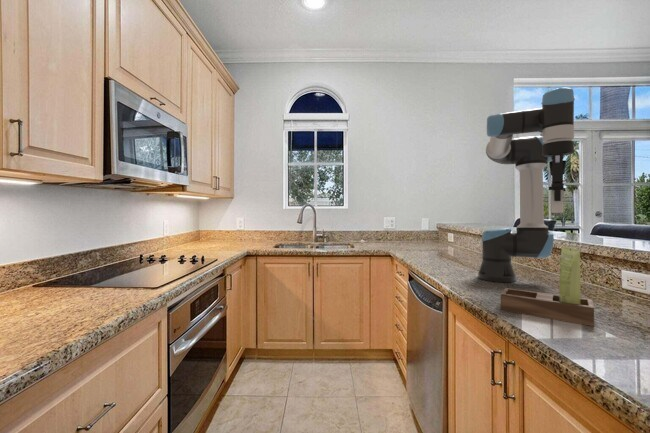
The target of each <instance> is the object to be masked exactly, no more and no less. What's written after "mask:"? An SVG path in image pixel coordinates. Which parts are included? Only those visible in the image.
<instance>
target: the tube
mask: <svg viewBox="0 0 650 433" xmlns="http://www.w3.org/2000/svg"><path fill="white" fill-rule="evenodd" d="M559 269H560V270H559V288H558V289H559V290H558V291H559V292H558V295H559V302H566V303H573V304H580V298H581V250H580V249H579V248H572V247H567V246H564V245H561V252H560V267H559Z"/></svg>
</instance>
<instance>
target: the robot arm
mask: <svg viewBox="0 0 650 433" xmlns="http://www.w3.org/2000/svg"><path fill="white" fill-rule="evenodd" d="M541 98H542V100H541V101H542V102H541V108H533V109H526V110H518V111H509V112H504V113H501V112H500V113H496V114H493V115H491V114H490V115H488V116H487V118H486V135H487V137H490V138H489V139H490V140H489V142H488V143H487V144H486V147H485V154H486V156H487V157H488V158H489V160H491V161H492V162H494V163H497V164H500V165H515V167H514V168H515V169H516V170H517V171H518V173H519V214H520V215H519V216H520V217H519V218H520V223H519V224H518V225H517V226H516V227H515V228H516V229H515V230H512V228H511V227H502V228H500V227H499V228H492V229H486V230H483V231H482V233H481V234H482V235H481V236H482V237H481V243H482V244H481V246H482V249H481V250H482V251H481V256H482V257H481V263H480V266H479V270H478V271H477V272H478V273H477V277H478V278H479V279H481V280H483V281H488V282H496V283H497V282H498V283H512V282H514V283H515V282H516V281H517V276H516V273H515V269H514V266H513V264H512V258H530V259H531V258H532V259H547V258H548V257H550V255H551V254H552V251H553V249H554V248H553V247H554V243H555V242H554V240H555V237H554V233H553V231H551V230H549V226H548V225H546V224H545V221H544V220H545V218H544V216H545V215H544V214H545V213H544V211H545V210H544V209H545V208H544V173H543V170H544V169H545V168H546V167H547V166H548V165H549V167H548V168H549V169H550V170H549V172H550V175H551V184H550V186H548V191H551V202H550V203H551V204H550V206H551V209H550V210H551V214H564V192H566V188H564V187H565V186H564V185H565V184H564V175H565V172H566V166H567V160H566V159H565V160H564V158H565V156H569V155H572V154H573V153H574V152H575V151H574V150H575V142H574V141H573V140H574V139H575V125H574V123H575V122H574V118H575V116H574V115H575V113H574V112H575V100H576V99H575V95H574V89H573V88H571V87H558V88H554V89H551V90H548V91H546V92H544V94H543V95H542V97H541ZM537 132H539V135H531V136H525V137H523V136H522V137H515V138H514V135H519V134H520V135H521V134H528V133H537ZM551 160H552V161H551ZM548 163H549V164H548Z"/></svg>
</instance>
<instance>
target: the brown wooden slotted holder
mask: <svg viewBox="0 0 650 433" xmlns="http://www.w3.org/2000/svg"><path fill="white" fill-rule="evenodd" d="M500 311H504V312H509V313H510V312H511V313H515V314H522V315H527V316H528V315H529V316H533V317H540V318H545V319H549V320H556V321H562V322H567V323H572V324H579V325H586V326H591V327H595V306H594V302H593V299H591V298H585V297H580V304H573V303H566V302H559V294H555V293H546V292H538V291H533V290H525V289H518V288H510V287H509V288H508V287H505V288H504V289H503V291H502V292H501V293H500Z"/></svg>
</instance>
